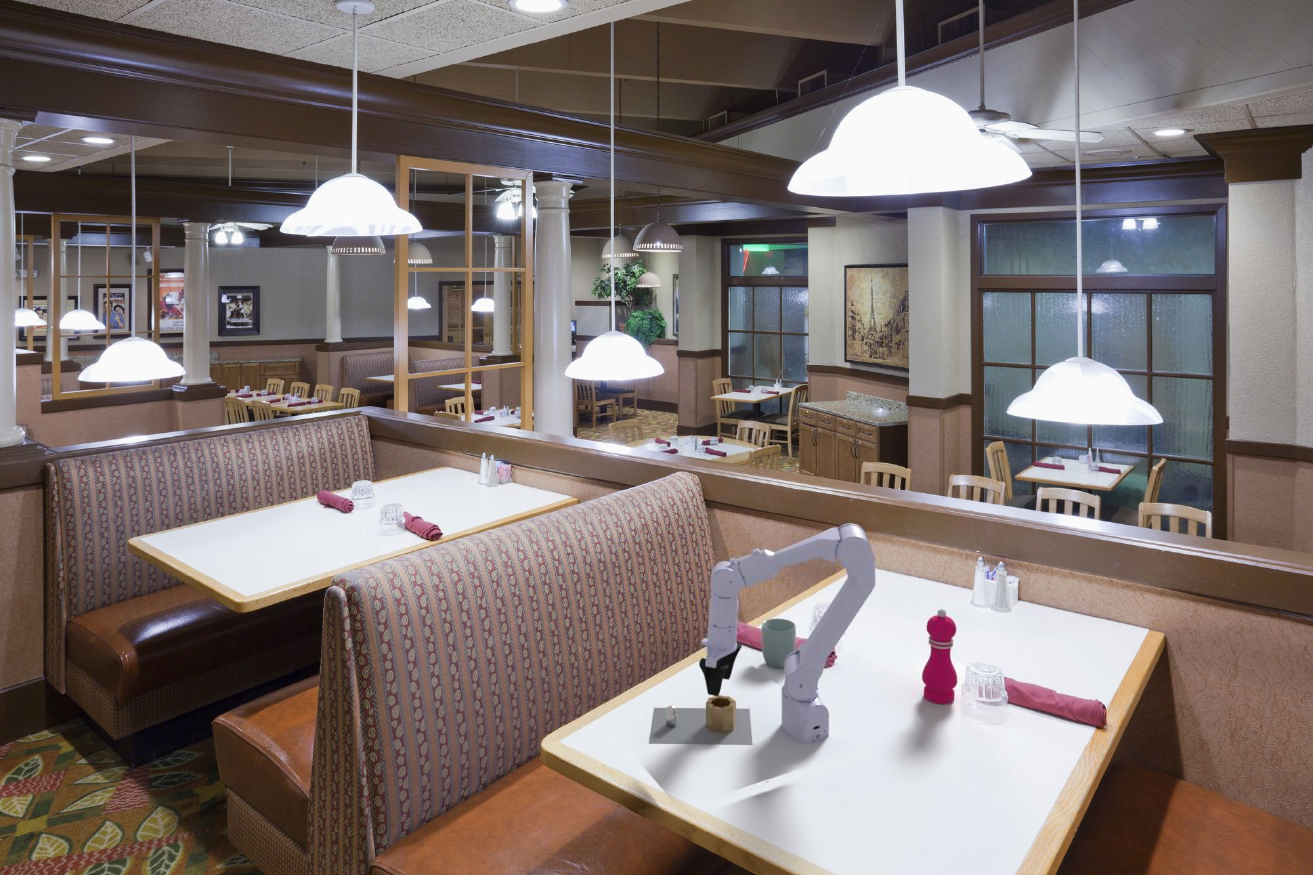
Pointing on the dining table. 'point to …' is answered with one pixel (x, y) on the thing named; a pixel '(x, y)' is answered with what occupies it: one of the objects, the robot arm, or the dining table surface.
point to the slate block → (698, 728)
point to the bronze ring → (721, 714)
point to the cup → (778, 641)
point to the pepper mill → (940, 660)
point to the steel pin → (671, 717)
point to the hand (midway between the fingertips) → (718, 686)
